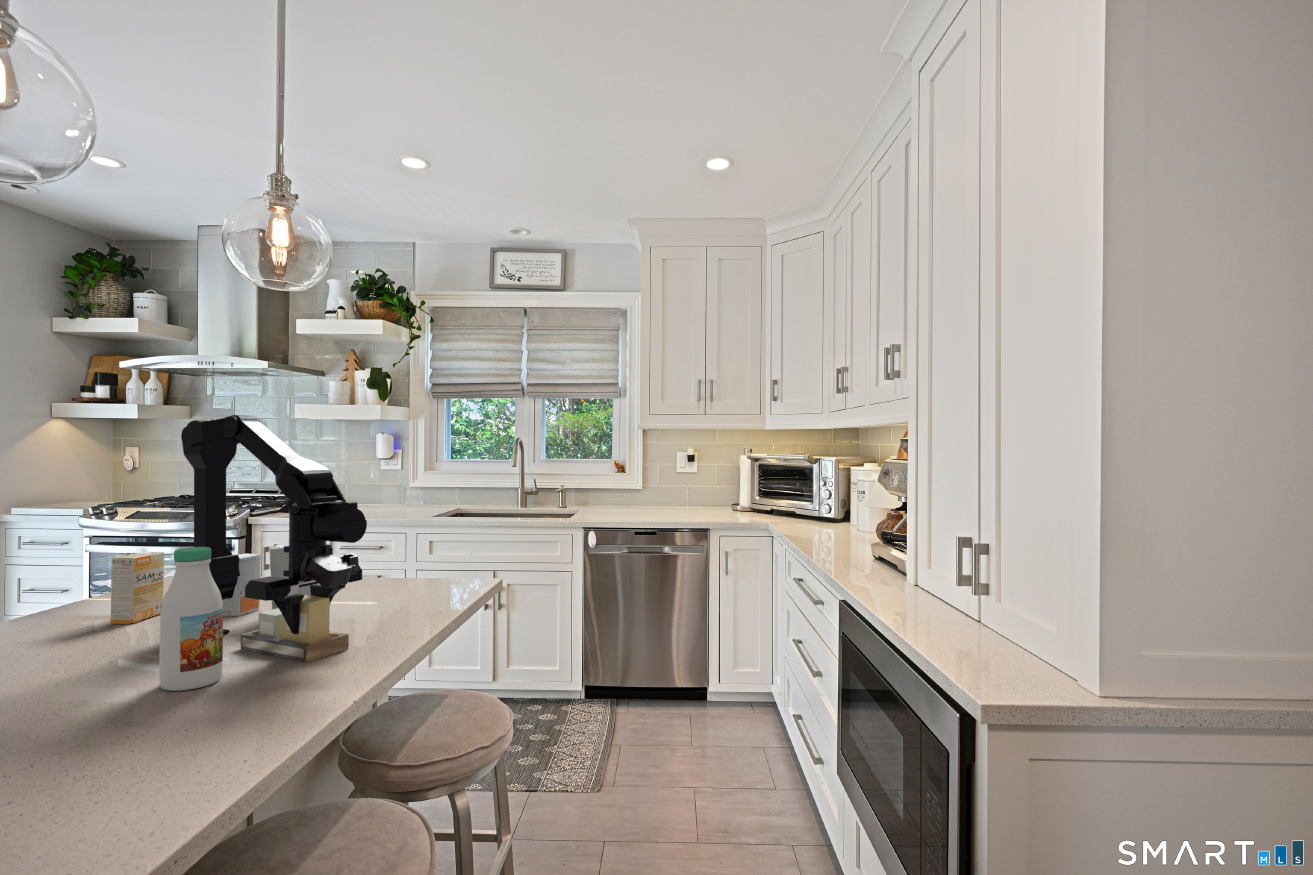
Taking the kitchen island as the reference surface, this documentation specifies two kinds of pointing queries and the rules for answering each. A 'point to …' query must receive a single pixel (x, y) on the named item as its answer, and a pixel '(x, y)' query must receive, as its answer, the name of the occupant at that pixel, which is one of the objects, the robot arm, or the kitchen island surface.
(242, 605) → the skincare box
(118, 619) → the supplement box
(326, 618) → the ochre carton
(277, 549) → the skincare box
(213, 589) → the milk bottle
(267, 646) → the tray
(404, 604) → the kitchen island surface
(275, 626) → the sage carton
